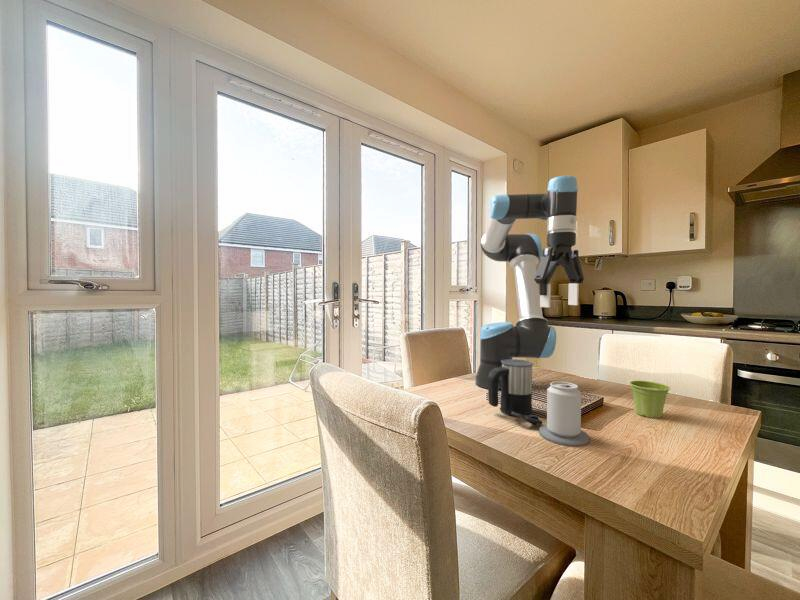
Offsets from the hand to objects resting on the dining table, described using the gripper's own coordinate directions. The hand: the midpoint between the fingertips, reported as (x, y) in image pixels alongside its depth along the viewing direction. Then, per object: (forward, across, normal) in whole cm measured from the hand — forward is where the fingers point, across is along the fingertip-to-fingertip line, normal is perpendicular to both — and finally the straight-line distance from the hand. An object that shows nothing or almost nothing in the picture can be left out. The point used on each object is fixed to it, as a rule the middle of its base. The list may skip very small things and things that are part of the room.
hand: (559, 306), depth 99 cm
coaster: (+31, -15, -12) cm, 36 cm away
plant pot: (+31, +19, -16) cm, 40 cm away
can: (+30, -15, -11) cm, 35 cm away
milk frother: (+31, -13, +2) cm, 34 cm away
